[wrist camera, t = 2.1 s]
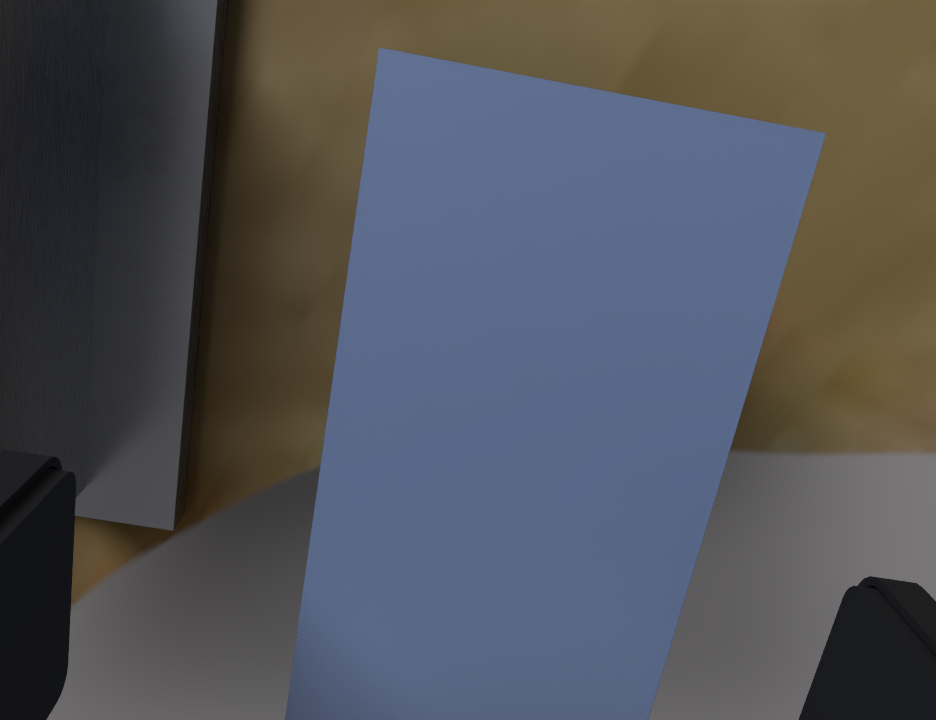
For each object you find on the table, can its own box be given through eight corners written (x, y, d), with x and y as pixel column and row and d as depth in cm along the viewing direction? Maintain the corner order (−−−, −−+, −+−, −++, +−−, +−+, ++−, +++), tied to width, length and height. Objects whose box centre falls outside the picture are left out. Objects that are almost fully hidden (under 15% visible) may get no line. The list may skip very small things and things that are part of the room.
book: (607, 96, 24) (826, 133, 10) (521, 482, 28) (586, 923, 13) (428, 62, 23) (379, 47, 9) (366, 457, 27) (262, 882, 13)
